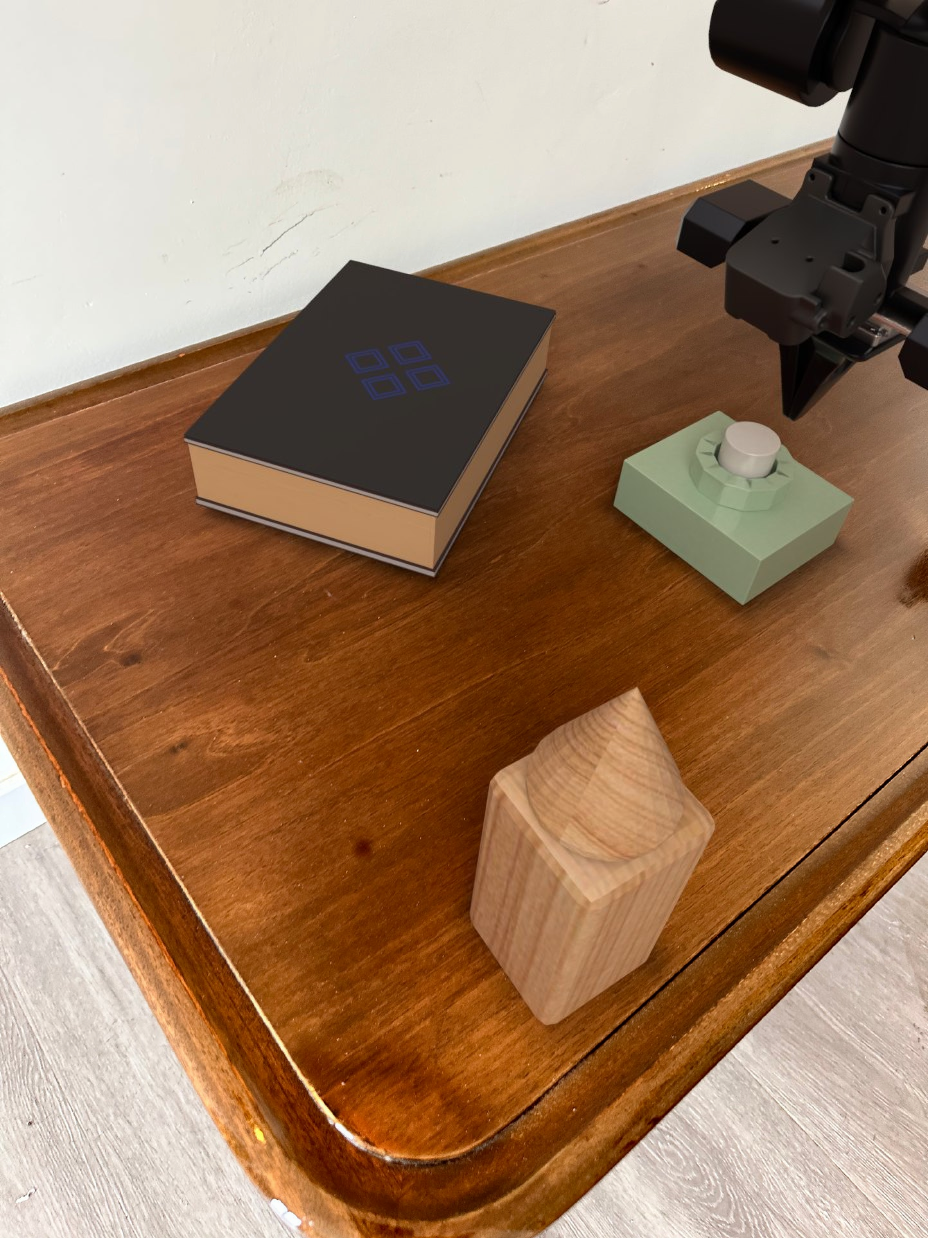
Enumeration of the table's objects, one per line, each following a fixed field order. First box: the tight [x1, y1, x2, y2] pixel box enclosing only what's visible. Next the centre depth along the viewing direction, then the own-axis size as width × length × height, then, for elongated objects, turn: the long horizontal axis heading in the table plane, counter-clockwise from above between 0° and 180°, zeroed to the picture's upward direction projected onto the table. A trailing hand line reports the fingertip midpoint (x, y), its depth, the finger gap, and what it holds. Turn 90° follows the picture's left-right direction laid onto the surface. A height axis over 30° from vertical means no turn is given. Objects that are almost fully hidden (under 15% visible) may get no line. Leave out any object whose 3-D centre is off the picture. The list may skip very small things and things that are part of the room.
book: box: [182, 259, 557, 579], centre depth 69 cm, size 17×25×7 cm
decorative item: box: [469, 686, 716, 1026], centre depth 39 cm, size 7×7×20 cm
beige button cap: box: [718, 421, 782, 479], centre depth 62 cm, size 4×4×2 cm
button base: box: [613, 410, 855, 606], centre depth 65 cm, size 12×10×6 cm
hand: (792, 416), depth 56 cm, fingers closed
